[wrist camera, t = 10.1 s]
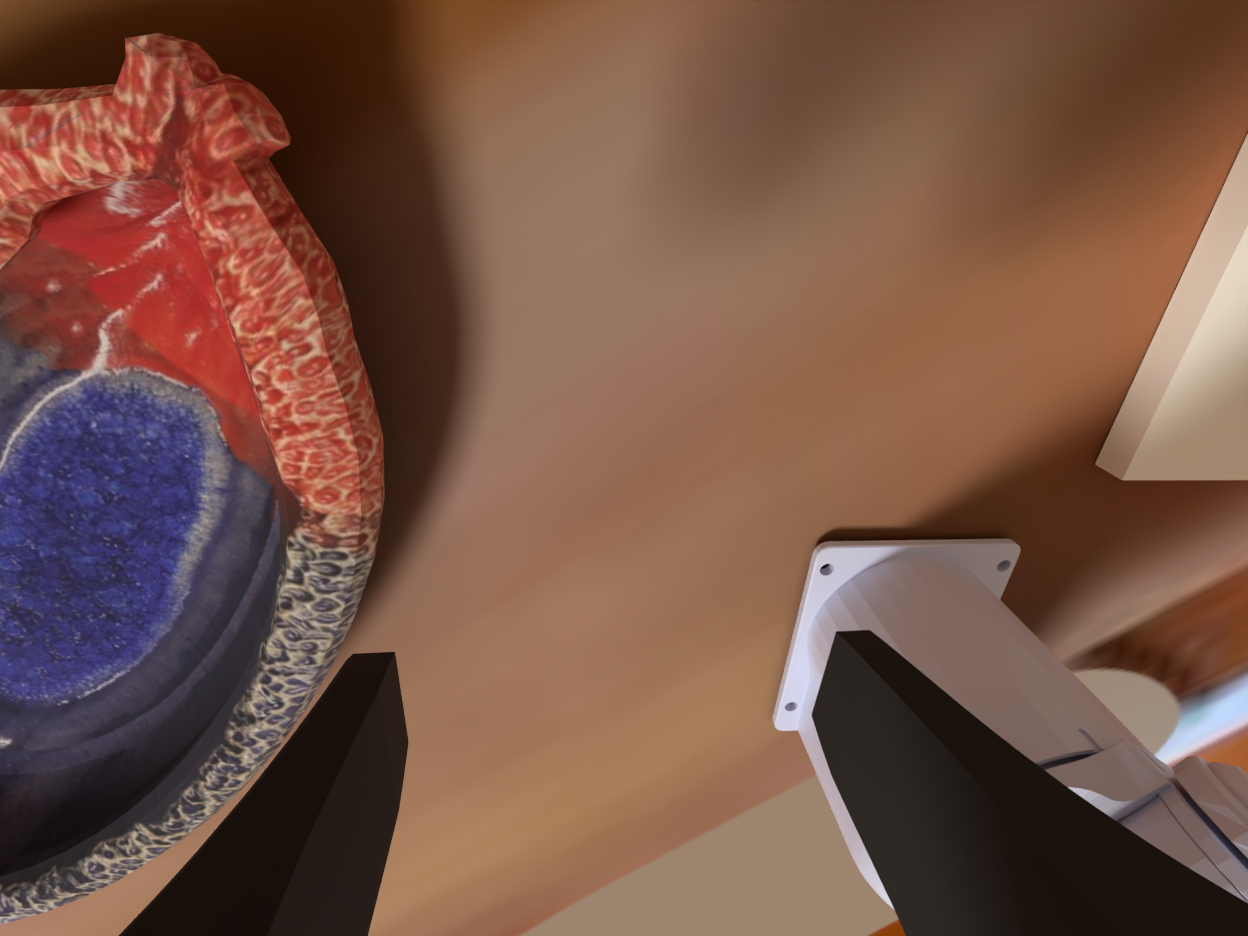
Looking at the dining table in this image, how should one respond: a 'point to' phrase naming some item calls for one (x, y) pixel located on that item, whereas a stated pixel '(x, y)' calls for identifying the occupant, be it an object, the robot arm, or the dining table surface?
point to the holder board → (1195, 363)
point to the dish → (163, 465)
